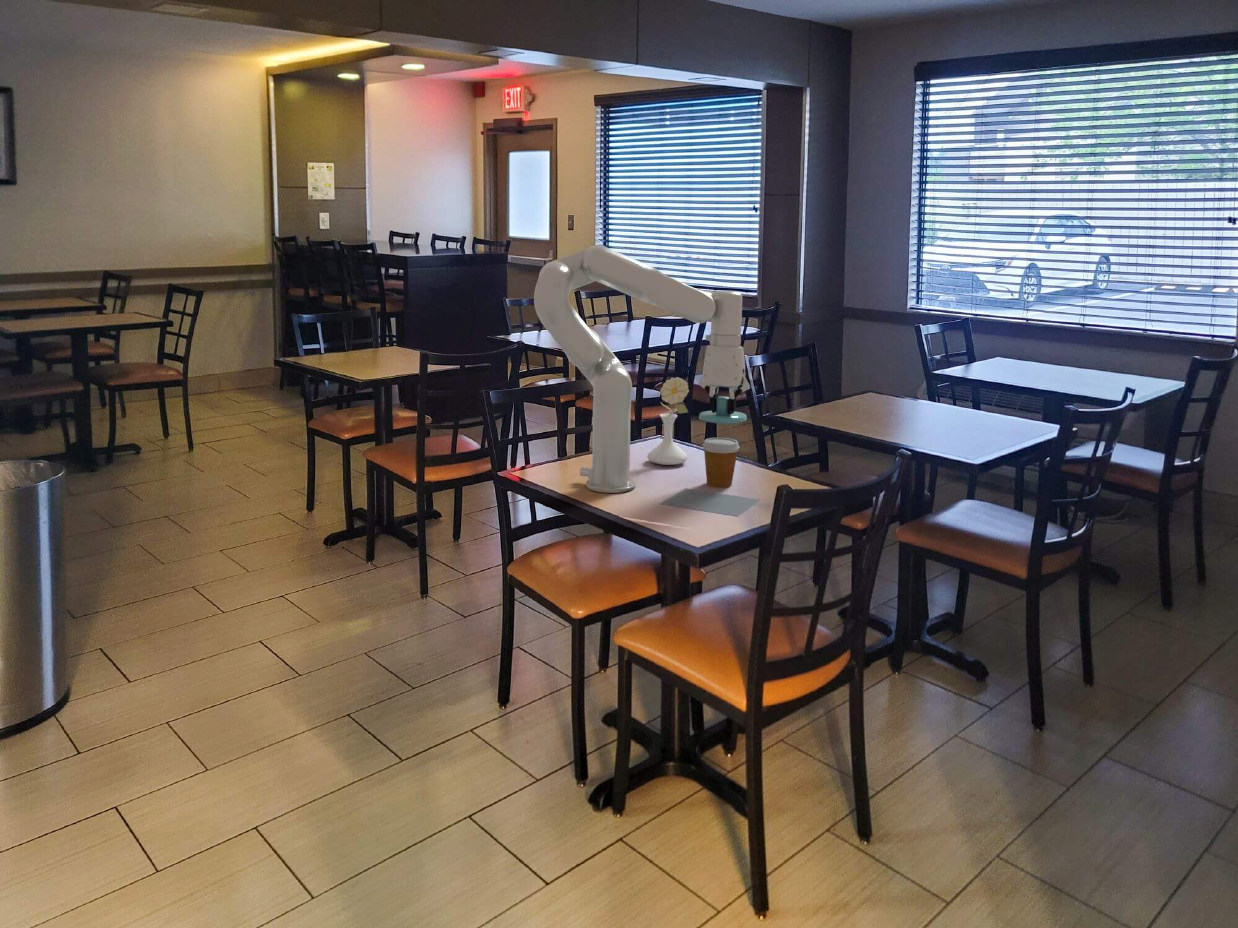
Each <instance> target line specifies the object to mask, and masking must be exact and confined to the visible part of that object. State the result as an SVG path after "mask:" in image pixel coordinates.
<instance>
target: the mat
mask: <svg viewBox="0 0 1238 928" xmlns="http://www.w3.org/2000/svg"><path fill="white" fill-rule="evenodd" d="M760 501H761V499H759V498H753V497H748V496H747V497H746V496H741V495H740V496H739V495H732V494H726V493H720V492H712V491H707V490H699V489H693V488H692V489H691V488H688V487H687V488H683V489H682V490H681V491H679V492H677V493H676V494H674V495H672V496H670V497H669V498H667V499H665V500H664V501H661V503H659V505H662V506H669V507H674V508H682V509H687V510H694V511H700V512H706V513H713V514H718V515H725V516H732V517H737V518H738V517H740V516H741V515H742V514H744V513H745V512H746V511H747V510H749V509H750V508H751V507H753V506H754V505H755V504H757V503H758V502H760Z"/></svg>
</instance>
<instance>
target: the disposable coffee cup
mask: <svg viewBox="0 0 1238 928" xmlns="http://www.w3.org/2000/svg"><path fill="white" fill-rule="evenodd" d="M702 449H703V452H704V462H705V463H704V464H705V473H706V474H705V475H706V484H707V486H708V487H711V488H718V489H725V488H730V487H732V485H733V478H734V475H735V467H736V462H737V455H738V451H739V449H740V445H739V441H738V440H736V439H734V438H729V437H710V438H709V437H708V438H706V439H704V441H703V444H702Z"/></svg>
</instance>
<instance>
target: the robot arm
mask: <svg viewBox="0 0 1238 928" xmlns="http://www.w3.org/2000/svg"><path fill="white" fill-rule="evenodd" d="M595 282H597V283H598V284H602V285H604V286H607V288H608V287H609V288H611V289H614V290H616V291H619V292H620V293H623V294H625V295H628V296H630V297H632V298H634V299H637V300H639V301H641V302H643V303H645V304H650V305H653V306H655V307H658V308H660V309H663V310H665V311H668V312H669V313H672V314H674V315H676V316H679V317H681V318H684V319H685V320H688V321H689V322H693V323H695V324H704V323H707V322H709V321H710V334H706V335H705V341H709V344H710V345H707V346H706V349H705V354H704V360H703V368H702V376H701V378H700V380H699V381H698V385H699V387H702V389H704V391H706V393H707V394H708V396H709V397H710V409H711V411H712V413H715V412H716V399H717V397H719V395H718V393H719V388H720V387H721V388H728V389H729V397H730V399H728V410H727V414H729V415H731V414H733V413H734V411H735V412H736V410H737V399H738V397H739V396H740V395H742V393H743V392H746V391H748V390H749V389H751V385H750V383H749V382H748V379H747V378H746V361H745V353H744V347H743V346H742V345H741V342H742V338H741V337H742V322H743V321H742V317H743V295H742V293H741V292H740V291H736V290H717V291H711V290H703V289H697V288H695V287H693V286H690V285H688V284H686V283H683V282H681V281H679V280H677V279H675V278H672V277H670V276H668V275H667V274H665V273H664V272H663V271H660V270H658V269H657V268H656V267H653V266H651V265H648V264H646V263H644V262H642V261H639V260H637V259H634V258H631V257H629V256H627V255H625V254H623V253H621V252H618V251H616V250H613V249H611V248H609V247H607V246H605V245H602V244H598V245H596V244H595V245H592V246H589V247H587V248H585V249H582V250H579V251H577V252H574V253H571V254H568V255H566V256H563V257H560V258H557V259H555V260H552V261H549V262H547V263H546V264H544V266H543V267H542V268H541V269H540V271H539V274H538V279H537V282H536V285H535V288H534V293H533V304H534V309H535V312H536V315H537V317H538V319H539V321H540V323H541V325H543V327H544V329H546V330H547V332H548V333H549V335H550V336H551V337H552V339H553V340H554V342H556V344H557V345H558V346H559V347H560V349H561V350H562V351H563V353H565V355H566V357H567V359H568V360H569V362H570V363H571V364H573V366H575V367H577V369H578V370H579V371H580V373H581V374H582V375H583V376H584V377H585V378H586V380H587V381H588V382H589V383H590V384H591V385H592V391H593V398H592V400H593V401H592V464H591V465H592V467H591V468H590V467H588V466H587V467H586V466H581V467H580V469H579V476H581V477H587V478H588V480H587V481H586V482H585V487H586V488H587V489H588V490H589V491H594V492H597V493H603V494H606V493H607V494H609V493H610V494H614V493H615V494H619V493H626V492H630V491H632V490H634V489H635V488H636V482H635V481H634V480H633V479H632V478H631V479H630V471H631V470H630V467H631V466H630V465H631V463H630V462H631V459H630V458H631V457H630V456H631V413H632V412H631V409H632V400H633V399H632V398H633V397H632V396H633V382H632V379H631V376H630V374H629V372H628V370H627V369H626V368H625V365H624V364H622V363H621V361H620V360H619V359H618V357H617V356H616V355H615V354H614V353H613V351H612V350H611V348H610V347H609V346H608V345H607V344H606V342H605V341H604V340H603V339H602V338H601V336H600V335H599V334H598V333H597V332H596V331H595V330H594V329H592V328H590V327H589V326H588V325H587V324H586V323H585V321H584V320H583V319H582V318H581V316H580V315H579V313H578V312H577V311H576V309H575V308H574V307H573V305H572V304H571V302H570V297H569V296H570V292H571V291H572V290H575V289H579V288H581V287H583V286H587V285H589V284H592V283H595ZM739 386H741V387H739ZM738 387H739V388H738Z"/></svg>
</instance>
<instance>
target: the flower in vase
mask: <svg viewBox="0 0 1238 928" xmlns="http://www.w3.org/2000/svg"><path fill="white" fill-rule="evenodd" d="M659 391H660V396H661V399H662V401H664V402H665V403H668V404H669V405H675V406H674V408H673V410H671V408H670V407H668V406H667V405H665V404H663V403H662V402H660V404H661V405H662V406H663V407H665V408H666V409H668V410H669V411H671V412H670V413H661V414H659V417H660V418H661V421H662V423H663V424H662V425H663V439H662V441H661V443H659V444H658V445H656V446H655V447H654V448H652V449H651V450H650V452H648V454H647V456H646V457H647V460H649V462H652V463H654V464H657V465H661V466H662V465H664V466H672V465H673V466H674V465H681V464H682V463H685V462H686V461H687V459H688V455H687V453H686V452H685V451H684V450H683V449H682V448H680V447H679V446H678V445H677V444H676V443H675V442H674V439H673V429H674V423H675V421H676V419H677V418H678V415H677V414H676V413H674V412H675V410H676V411H677V413H679V414H685V413H686V414H687V413H689V411H688V408H687V407H686V405H685V404H678V403H681V402H684V400H685V398H686V397H687V396H688V393H689V392H690V390H689V383H688V382H687V381H686V380H684V379H683V378H680V377H678V376H677V377H671V378H670V379H666V380H665V382H664V383H663V384H662V387H661V388H660V390H659Z"/></svg>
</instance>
